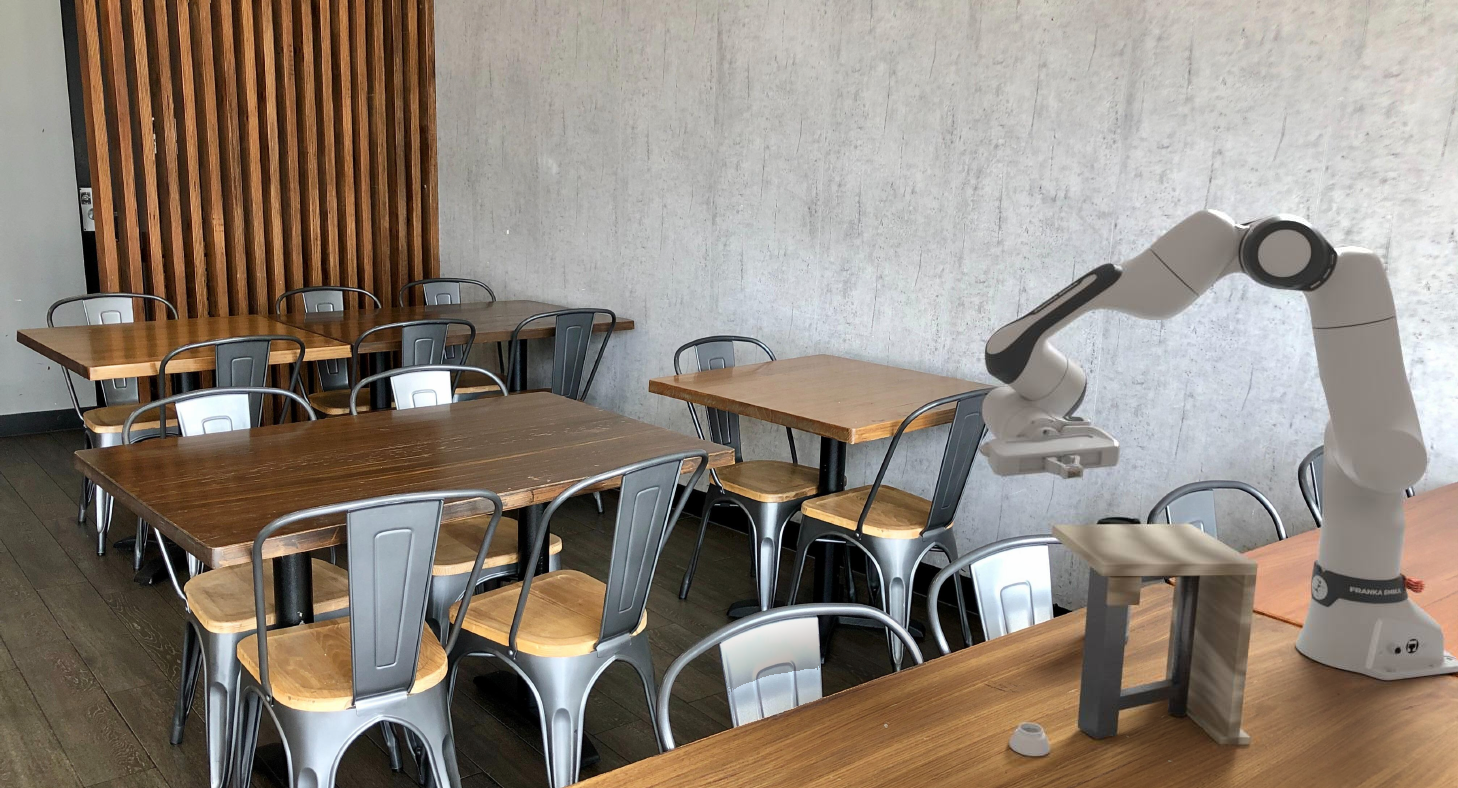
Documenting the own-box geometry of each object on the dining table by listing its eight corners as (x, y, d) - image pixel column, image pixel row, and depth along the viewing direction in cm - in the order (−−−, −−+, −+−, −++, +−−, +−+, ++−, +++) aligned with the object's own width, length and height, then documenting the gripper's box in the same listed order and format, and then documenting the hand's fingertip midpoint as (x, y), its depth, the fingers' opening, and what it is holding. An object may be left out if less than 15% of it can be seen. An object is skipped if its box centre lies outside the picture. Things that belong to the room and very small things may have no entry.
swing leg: (1173, 705, 149) (1188, 550, 145) (1193, 716, 145) (1209, 558, 142) (1077, 727, 142) (1090, 565, 138) (1096, 739, 139) (1109, 574, 135)
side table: (1184, 686, 155) (1200, 524, 151) (1249, 744, 139) (1269, 563, 134) (1040, 688, 154) (1052, 524, 150) (1089, 748, 137) (1104, 564, 133)
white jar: (1001, 746, 137) (1032, 762, 133) (1002, 725, 137) (1034, 741, 133) (1026, 736, 140) (1058, 751, 136) (1027, 715, 140) (1059, 730, 136)
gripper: (975, 426, 171) (1008, 460, 158) (1096, 416, 173) (1139, 448, 160) (973, 463, 173) (1006, 499, 160) (1093, 452, 176) (1135, 486, 163)
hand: (1074, 473), depth 160 cm, fingers closed
